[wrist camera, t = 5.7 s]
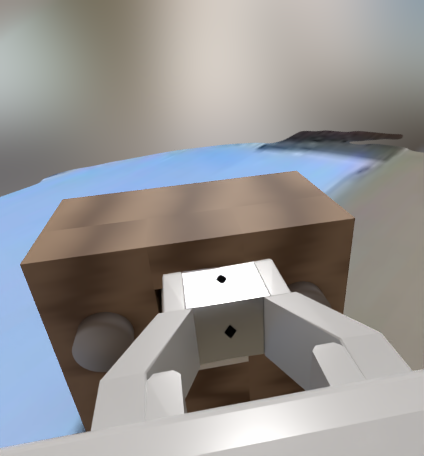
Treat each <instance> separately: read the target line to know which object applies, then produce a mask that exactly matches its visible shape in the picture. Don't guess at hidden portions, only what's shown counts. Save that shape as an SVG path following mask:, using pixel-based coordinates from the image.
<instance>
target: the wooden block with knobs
mask: <svg viewBox="0 0 424 456" xmlns="http://www.w3.org/2000/svg"><path fill="white" fill-rule="evenodd" d="M354 222H355V218H354V217H353V216H352V215H350V214H349V213H348V212H347V211H346V210H344V209H343V208H342V207H341V206H339V205H338V204H337V203H336V202H334V201H333V200H332V199H331V198H329V197H328V196H327V195H326V194H325V193H323V192H322V191H321V190H320V189H318V188H317V187H316V186H315V185H313V184H312V183H311V182H310V181H308V180H307V179H306V178H305V177H304V176H302V175H301V174H300V173H299V172H297V171H291V172H283V173H275V174H267V175H259V176H250V177H242V178H234V179H226V180H218V181H210V182H202V183H193V184H185V185H177V186H169V187H161V188H153V189H145V190H137V191H128V192H120V193H112V194H104V195H96V196H88V197H80V198H71V199H63V200H62V201H61V203H60V204H59V206H58V208H57V209H56V211H55V212H54V214H53V215H52V217H51V218H50V220H49V221H48V223H47V224H46V226H45V227H44V229H43V230H42V232H41V233H40V235H39V236H38V238H37V240H36V241H35V243H34V244H33V246H32V247H31V249H30V250H29V252H28V253H27V255H26V256H25V258H24V259H23V261H22V262H21V264H20V266H21V268H22V271H23V273H24V276H25V278H26V281H27V283H28V286H29V288H30V291H31V294H32V296H33V299H34V301H35V304H36V306H37V309H38V311H39V314H40V316H41V319H42V321H43V324H44V326H45V329H46V331H47V334H48V336H49V339H50V342H51V344H52V347H53V349H54V352H55V354H56V357H57V359H58V362H59V364H60V367H61V369H62V372H63V374H64V377H65V379H66V382H67V385H68V387H69V390H70V392H71V395H72V397H73V400H74V402H75V405H76V407H77V410H78V412H79V415H80V417H81V420H82V422H83V425H84V428H85V430H86V432H88V431H91V427H92V421H93V416H94V410H95V405H96V399H97V394H98V388H99V383H100V380H101V379H102V378H103V377H104V376H105V375H106V373H107V372H108V371H109V370H110V369H111V368H112V366H113V365H114V364H115V363H116V362H117V361H118V359H119V358H120V357H121V356H122V355H123V354H124V352H125V351H126V350H127V349H128V348H129V347H130V345H131V344H132V343H133V342H134V341H135V340H136V338H137V337H138V336H139V335H140V334H141V333H142V331H143V330H144V329H145V328H146V327H147V326H148V325H149V323H150V322H151V321H152V320H153V319H154V318H155V316H156V315H157V314H158V313H162V289H163V280H162V277H163V274H170V273H176V272H181V273H182V272H184V271H192V270H200V269H208V268H216V267H218V268H219V267H225V266H231V265H237V264H243V263H249V262H253V261H259V260H264V259H271V260H272V261H273V262H274V264H275V266H276V268H277V269H278V271H279V273H280V274H281V276H282V278H283V279H284V281H285V283H286V285H287V286H288V288H289V290H290V291H291V292H298V293H300V294H302V295H304V296H306V297H308V298H310V299H312V300H314V301H317V302H319V303H321V304H323V305H325V306H327V307H329V308H331V309H333V310H335V311H337V312H339V313H341V314H343V310H344V302H345V294H346V286H347V278H348V270H349V262H350V254H351V246H352V238H353V230H354ZM182 278H183V276H182ZM248 359H249V361H248V362H242V363H237V364H231V365H225V366H219V367H214V368H208V369H202V370H199V371H198V373H197V375H196V377H195V379H194V381H193V383H192V386H191V388H190V390H189V392H188V394H187V396H186V398H185V402H186V408H187V413H190V412H196V411H201V410H206V409H212V408H217V407H222V406H228V405H233V404H238V403H244V402H249V401H254V400H260V399H265V398H270V397H276V396H281V395H286V394H292V393H297V392H302V391H305V390H304V389H303V388H302V387H301V386H300V385H299V384H297V383H296V382H295V381H294V380H293V379H292V378H290V377H289V376H288V375H287V374H286V373H285V372H284V371H282V370H281V369H280V368H279V367H278V366H277V365H276V364H274V363H273V362H272V361H271V360H270V359H269V358H267V357H266V356H265V354H259V355H252V356H248Z"/></svg>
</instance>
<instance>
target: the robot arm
mask: <svg viewBox="0 0 424 456" xmlns="http://www.w3.org/2000/svg"><path fill="white" fill-rule="evenodd" d="M182 276H183V278H182ZM162 280H163V313H158V314H157V315H156V316H155V318H154V319H153V320H152V321H151V322H150V323H149V325H148V326H147V327H146V328H145V329H144V330H143V331H142V333H141V334H140V335H139V336H138V337H137V338H136V340H135V341H134V342H133V343H132V344H131V345H130V347H129V348H128V349H127V350H126V351H125V352H124V354H123V355H122V356H121V357H120V358H119V359H118V361H117V362H116V363H115V364H114V365H113V366H112V368H111V369H110V370H109V371H108V372H107V373H106V375H105V376H104V377H103V378H102V379H101V380H100V383H99V388H98V394H97V399H96V405H95V410H94V416H93V421H92V427H91V431H88V432H83V433H78V434H72V435H67V436H62V437H56V438H51V439H46V440H40V441H35V442H29V443H24V444H19V445H13V446H8V447H3V448H0V456H424V369H422V370H416V371H412V370H411V369H410V367H409V366H408V365H407V364H406V362H405V361H404V360H403V359H402V358H401V356H400V355H399V354H398V353H397V351H396V350H395V349H394V348H393V346H392V345H391V344H390V343H389V342H388V340H387V339H386V338H385V337H384V335H383V334H382V333H381V332H378V331H376V330H374V329H372V328H370V327H368V326H366V325H364V324H362V323H360V322H358V321H356V320H354V319H352V318H350V317H347V316H345V315H343V314H341V313H339V312H337V311H335V310H333V309H331V308H329V307H327V306H325V305H323V304H321V303H319V302H317V301H314V300H312V299H310V298H308V297H306V296H304V295H302V294H300V293H298V292H291V291H290V290H289V288H288V286H287V285H286V283H285V281H284V279H283V278H282V276H281V274H280V273H279V271H278V269H277V268H276V266H275V264H274V262H273V261H272V260H271V259H264V260H259V261H253V262H249V263H243V264H237V265H231V266H225V267H219V268H218V267H216V268H208V269H200V270H192V271H184V272H182V273H181V272H176V273H170V274H163V277H162ZM259 354H265V356H266V357H267V358H269V359H270V360H271V361H272V362H273V363H274V364H276V365H277V366H278V367H279V368H280V369H281V370H282V371H284V372H285V373H286V374H287V375H288V376H289V377H290V378H292V379H293V380H294V381H295V382H296V383H297V384H299V385H300V386H301V387H302V388H303V389H304V390H305V391H302V392H297V393H292V394H286V395H281V396H276V397H270V398H265V399H260V400H254V401H249V402H244V403H238V404H233V405H228V406H222V407H217V408H212V409H206V410H201V411H196V412H190V413H187V408H186V402H185V398H186V396H187V394H188V392H189V390H190V388H191V386H192V383H193V381H194V379H195V377H196V375H197V373H198V371H199V369H200V365H202V364H207V363H212V362H217V361H222V360H227V359H232V358H238V357H245V356H252V355H259Z"/></svg>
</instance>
